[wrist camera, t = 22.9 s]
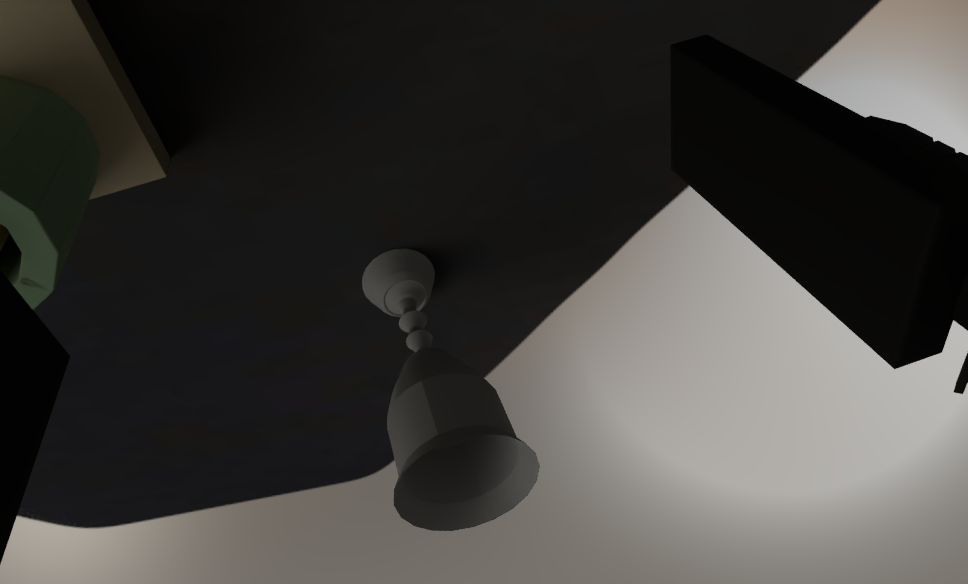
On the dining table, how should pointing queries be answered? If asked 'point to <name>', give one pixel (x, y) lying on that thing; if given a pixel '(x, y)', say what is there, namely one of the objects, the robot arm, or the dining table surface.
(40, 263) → the sleeve
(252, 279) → the dining table surface
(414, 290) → the chalice
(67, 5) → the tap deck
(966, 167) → the robot arm
